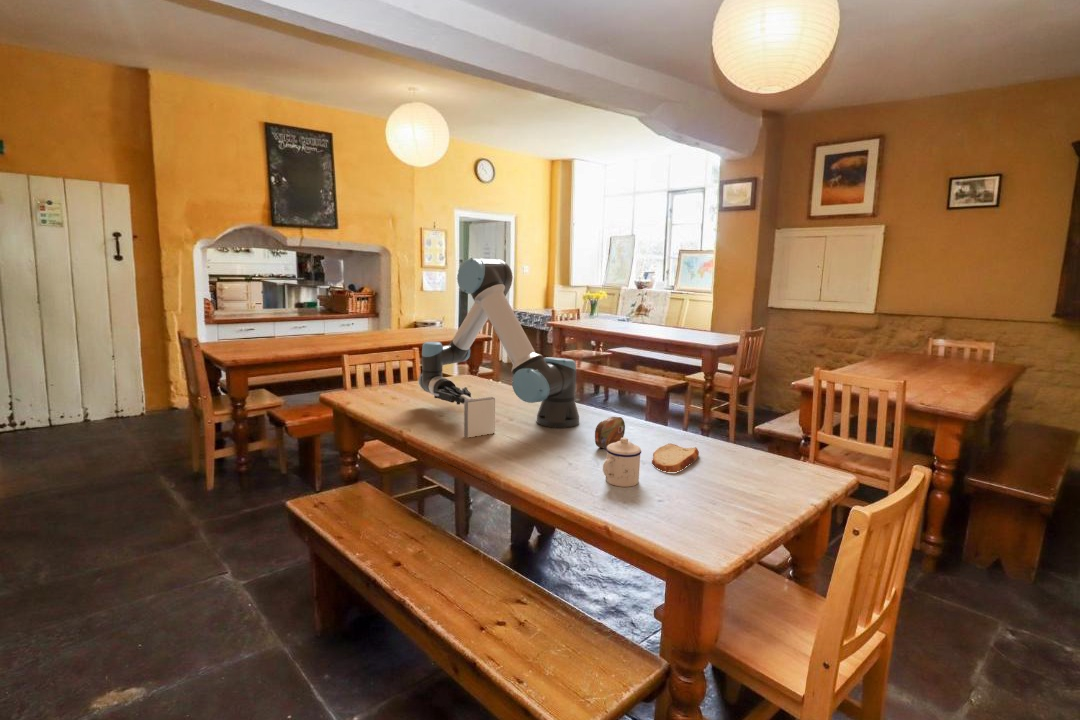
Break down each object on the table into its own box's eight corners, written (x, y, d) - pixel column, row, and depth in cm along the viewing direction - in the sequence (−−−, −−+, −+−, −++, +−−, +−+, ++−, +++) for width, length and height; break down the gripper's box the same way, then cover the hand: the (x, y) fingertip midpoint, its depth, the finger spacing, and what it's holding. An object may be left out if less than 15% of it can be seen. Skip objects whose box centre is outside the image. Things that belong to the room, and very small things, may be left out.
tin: (601, 452, 169) (602, 425, 168) (592, 449, 171) (593, 423, 170) (625, 440, 181) (626, 415, 180) (616, 438, 183) (618, 413, 182)
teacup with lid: (619, 471, 153) (622, 431, 151) (646, 482, 147) (649, 439, 145) (589, 482, 146) (591, 439, 143) (616, 493, 139) (619, 448, 137)
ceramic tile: (464, 436, 181) (464, 400, 179) (491, 431, 186) (492, 396, 184) (467, 438, 179) (467, 401, 177) (494, 433, 184) (495, 398, 182)
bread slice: (663, 476, 152) (664, 463, 152) (635, 454, 169) (635, 442, 169) (721, 471, 157) (722, 458, 157) (687, 450, 174) (688, 438, 174)
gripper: (458, 396, 209) (488, 411, 190) (425, 400, 202) (452, 416, 183) (458, 376, 208) (488, 389, 188) (425, 380, 201) (452, 393, 181)
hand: (470, 402), depth 186 cm, fingers closed
